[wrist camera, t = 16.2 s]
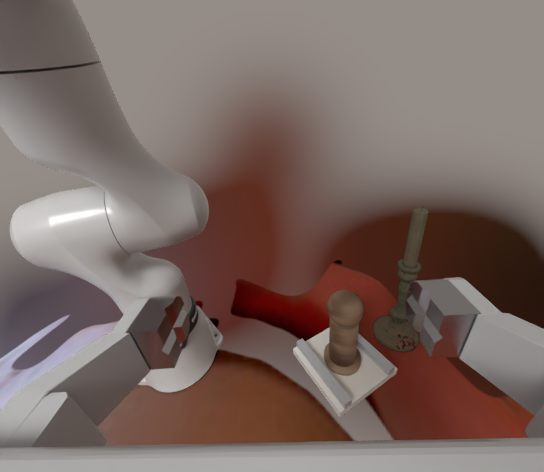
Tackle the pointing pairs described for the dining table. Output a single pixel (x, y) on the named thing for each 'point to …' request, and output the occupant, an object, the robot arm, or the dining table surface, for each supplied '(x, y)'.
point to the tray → (338, 387)
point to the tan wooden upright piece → (343, 333)
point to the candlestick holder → (403, 292)
